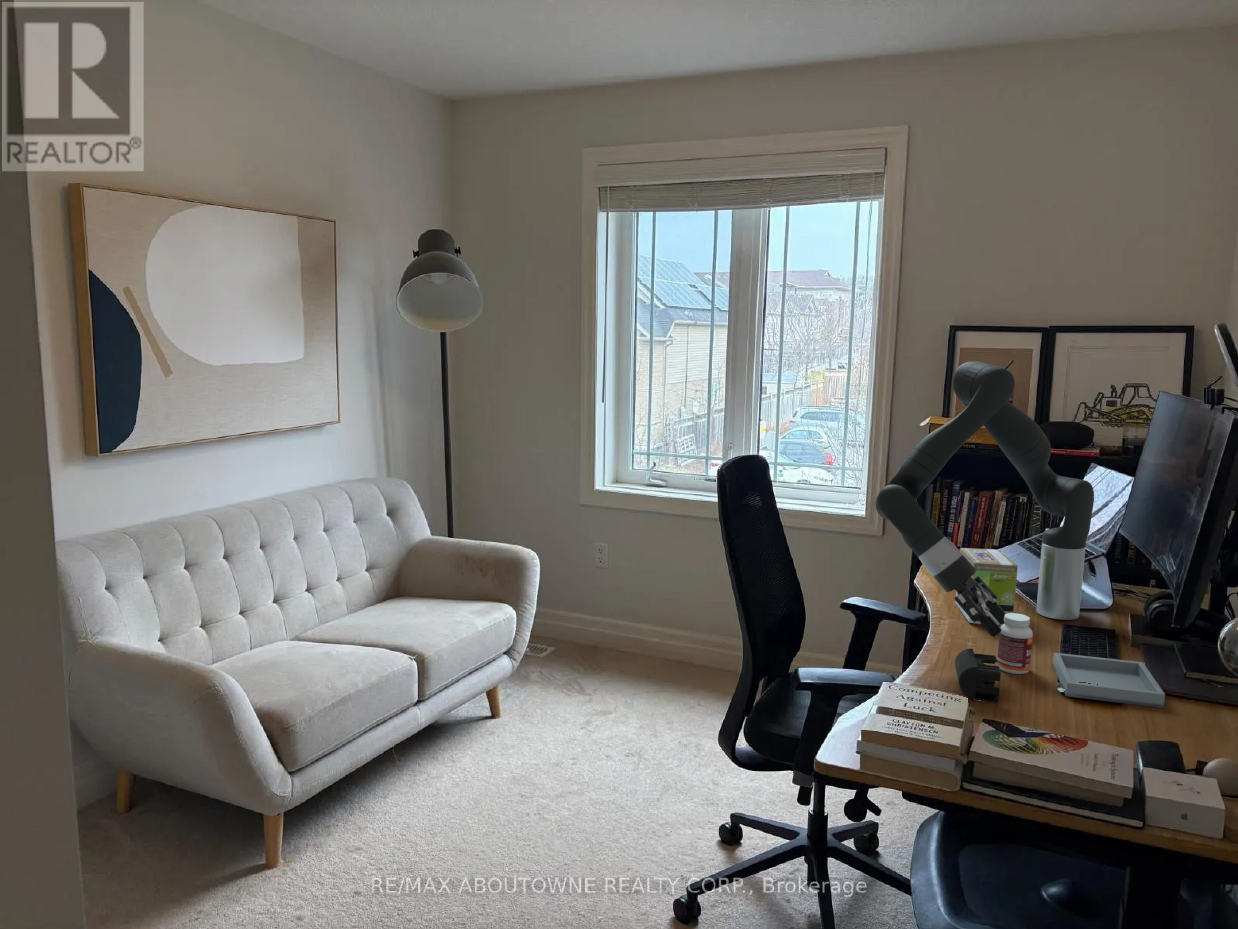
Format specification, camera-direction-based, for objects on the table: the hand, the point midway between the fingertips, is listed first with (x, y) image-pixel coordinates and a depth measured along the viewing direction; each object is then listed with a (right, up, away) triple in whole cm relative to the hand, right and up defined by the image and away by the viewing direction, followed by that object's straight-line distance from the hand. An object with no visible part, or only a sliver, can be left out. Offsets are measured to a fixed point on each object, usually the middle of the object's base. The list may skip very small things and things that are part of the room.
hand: (1001, 627), depth 176 cm
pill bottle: (+2, -9, 0) cm, 9 cm away
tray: (+16, -10, -8) cm, 21 cm away
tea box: (+10, -3, +33) cm, 34 cm away
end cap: (-10, -10, -11) cm, 18 cm away
